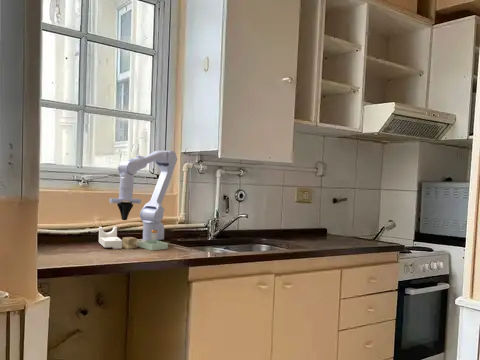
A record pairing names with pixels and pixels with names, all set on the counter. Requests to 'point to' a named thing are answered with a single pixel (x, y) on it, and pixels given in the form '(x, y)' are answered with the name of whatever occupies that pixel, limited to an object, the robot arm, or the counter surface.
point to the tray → (153, 245)
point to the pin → (153, 236)
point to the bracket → (110, 238)
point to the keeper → (139, 241)
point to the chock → (129, 242)
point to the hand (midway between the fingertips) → (124, 219)
